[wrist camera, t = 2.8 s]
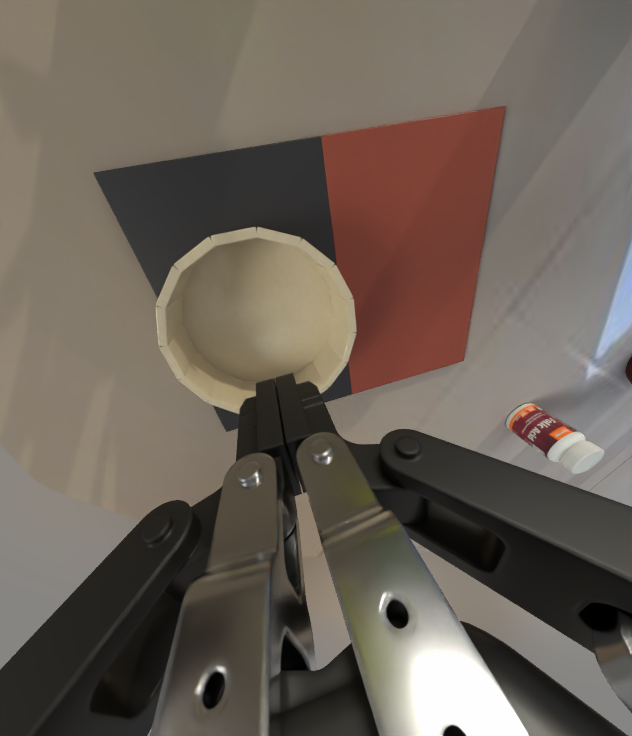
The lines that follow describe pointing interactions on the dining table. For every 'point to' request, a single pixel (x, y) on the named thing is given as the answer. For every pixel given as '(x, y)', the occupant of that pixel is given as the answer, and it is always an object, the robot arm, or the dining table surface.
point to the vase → (629, 370)
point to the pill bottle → (554, 438)
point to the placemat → (342, 227)
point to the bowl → (254, 315)
